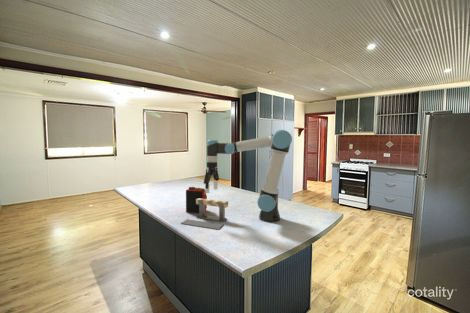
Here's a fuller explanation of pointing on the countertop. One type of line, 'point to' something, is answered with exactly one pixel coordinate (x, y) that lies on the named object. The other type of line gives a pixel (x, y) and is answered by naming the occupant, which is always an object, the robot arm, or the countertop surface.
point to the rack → (220, 218)
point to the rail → (212, 202)
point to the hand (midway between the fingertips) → (211, 191)
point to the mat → (202, 224)
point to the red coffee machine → (194, 199)
